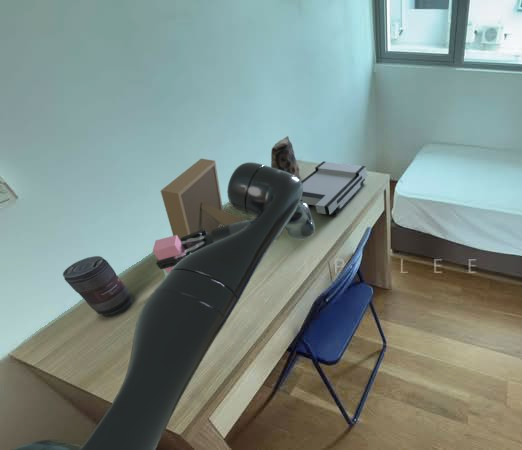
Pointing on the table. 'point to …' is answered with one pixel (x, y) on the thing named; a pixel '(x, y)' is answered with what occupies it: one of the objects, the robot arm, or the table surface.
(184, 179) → the photo frame
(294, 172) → the owl
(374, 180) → the table surface
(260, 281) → the table surface
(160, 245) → the pink box
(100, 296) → the camera lens
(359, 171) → the game console
